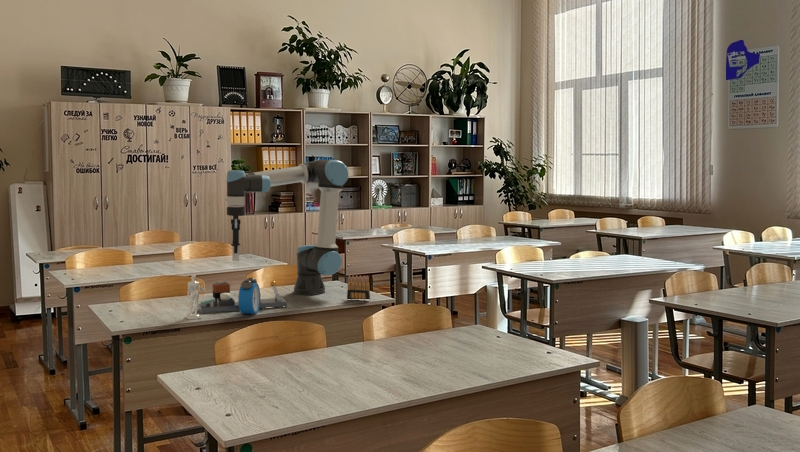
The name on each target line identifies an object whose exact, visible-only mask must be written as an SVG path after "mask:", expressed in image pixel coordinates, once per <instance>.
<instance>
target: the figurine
mask: <svg viewBox="0 0 800 452" xmlns="http://www.w3.org/2000/svg"><path fill="white" fill-rule="evenodd" d="M190 278H191V281H188V282H187V298H188V299H189V301H190V302H189V313H187V314H186V315H185V316H184V318H185V317H186V318H187V319H192V320H199V319H198V318H202V316H201V313H198V311H199V295H200V293H199V292H201V293H204V290H205V286H200V282H199V281H196V278H197V275H196V274H192V275H191V277H190ZM194 303H195V305H194V308H195V309H194V311H195V312H194V313H192V310H193V304H194ZM186 318H185V319H186ZM187 319H186V320H187Z"/></svg>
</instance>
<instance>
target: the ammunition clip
mask: <svg viewBox="0 0 800 452" xmlns="http://www.w3.org/2000/svg"><path fill="white" fill-rule="evenodd" d="M346 294H347V295H346V300H347V299H370V300H371V291H370V279H369V275H367V276H366V275H363V276H362V275H361V274H360V275H359V277H358V275H357V274H356V275H354V274H352V276H351V275H350V274H348V278H347V291H346Z"/></svg>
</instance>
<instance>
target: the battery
mask: <svg viewBox="0 0 800 452" xmlns="http://www.w3.org/2000/svg"><path fill="white" fill-rule="evenodd" d="M221 293H231V284H230V283H228V281H227V280H226V281H225V280H223V281H221V282H219V281H216V282H215V283H213V284H212V298H215V301H216V302H217V298H220V294H221ZM216 302H212V303H216Z"/></svg>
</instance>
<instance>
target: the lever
mask: <svg viewBox="0 0 800 452" xmlns="http://www.w3.org/2000/svg"><path fill="white" fill-rule="evenodd" d="M270 286H271V288H272V290H273V294H274V298H275V297H276V299H277V296H279V295H278V294H279V292H278V288H277V282H276V280H272V281H271V282H270Z"/></svg>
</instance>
